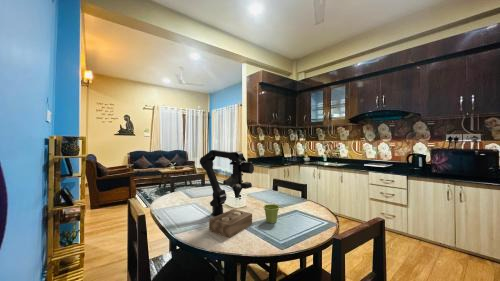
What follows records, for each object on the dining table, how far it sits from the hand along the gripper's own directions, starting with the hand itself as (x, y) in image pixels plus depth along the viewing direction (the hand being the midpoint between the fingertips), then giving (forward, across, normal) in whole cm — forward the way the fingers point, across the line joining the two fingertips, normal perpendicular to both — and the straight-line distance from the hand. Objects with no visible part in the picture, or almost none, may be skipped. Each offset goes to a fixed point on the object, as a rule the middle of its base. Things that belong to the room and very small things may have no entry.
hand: (236, 197), depth 124 cm
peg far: (+12, +6, -6) cm, 15 cm away
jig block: (+13, +6, -11) cm, 18 cm away
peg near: (+12, +6, -16) cm, 21 cm away
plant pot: (+13, +19, +10) cm, 25 cm away
